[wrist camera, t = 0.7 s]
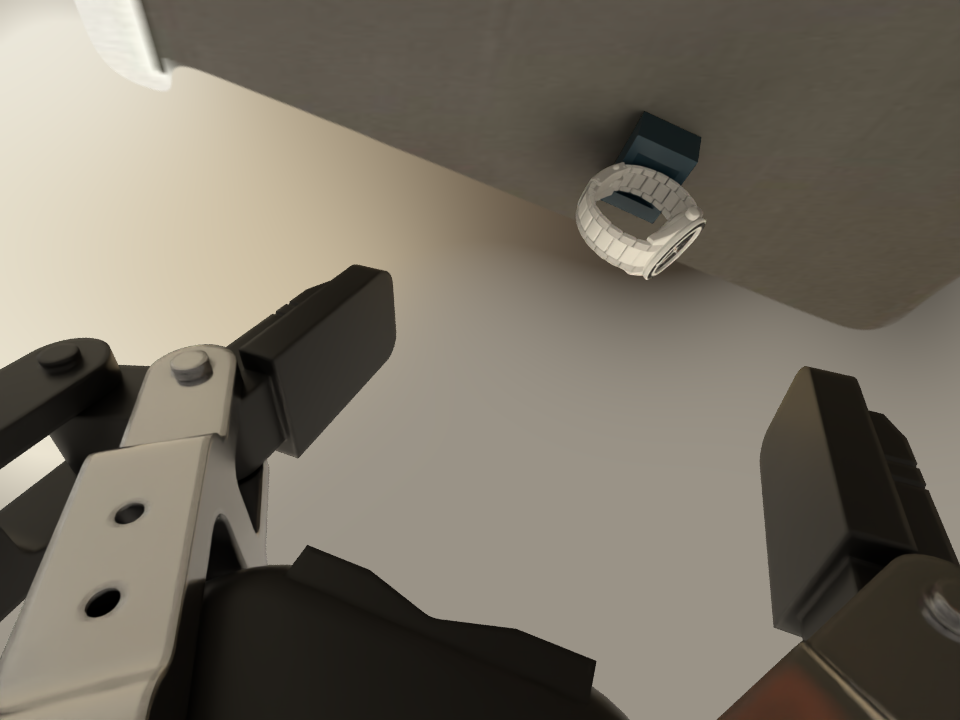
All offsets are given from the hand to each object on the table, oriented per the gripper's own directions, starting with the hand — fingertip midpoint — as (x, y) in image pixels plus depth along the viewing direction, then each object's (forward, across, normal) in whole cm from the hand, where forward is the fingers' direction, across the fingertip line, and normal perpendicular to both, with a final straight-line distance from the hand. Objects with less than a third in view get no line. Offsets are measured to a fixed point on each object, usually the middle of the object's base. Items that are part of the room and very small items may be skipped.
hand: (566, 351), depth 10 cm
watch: (+32, 0, +4) cm, 33 cm away
